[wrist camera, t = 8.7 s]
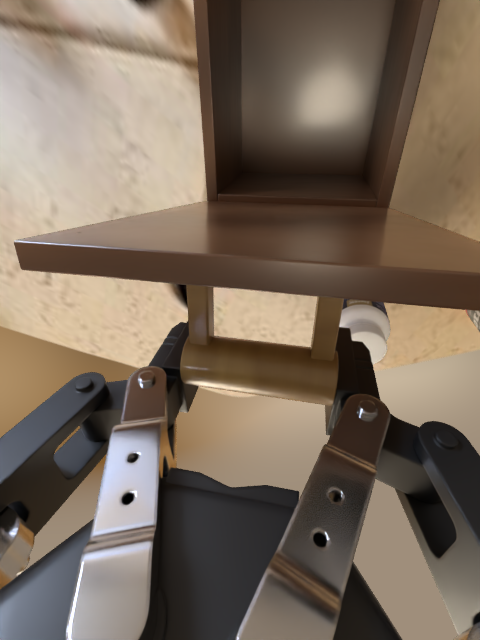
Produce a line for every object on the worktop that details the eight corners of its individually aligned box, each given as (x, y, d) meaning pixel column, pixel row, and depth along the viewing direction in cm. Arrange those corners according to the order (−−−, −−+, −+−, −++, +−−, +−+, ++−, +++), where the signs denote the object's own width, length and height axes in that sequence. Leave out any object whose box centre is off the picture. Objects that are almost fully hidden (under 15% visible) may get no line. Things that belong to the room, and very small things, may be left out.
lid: (12, 240, 8) (56, 401, 10) (586, 281, 6) (488, 476, 8) (205, 200, 23) (207, 270, 25) (390, 207, 20) (374, 284, 23)
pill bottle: (366, 265, 33) (380, 314, 25) (388, 303, 35) (407, 360, 27) (320, 288, 36) (320, 339, 28) (342, 322, 38) (348, 379, 30)
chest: (231, -56, 22) (183, -144, 14) (422, -77, 20) (488, -196, 12) (236, 179, 31) (207, 205, 23) (369, 183, 29) (387, 212, 21)
